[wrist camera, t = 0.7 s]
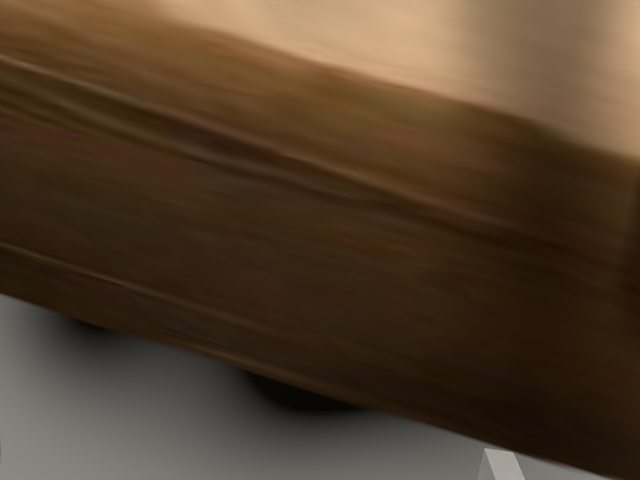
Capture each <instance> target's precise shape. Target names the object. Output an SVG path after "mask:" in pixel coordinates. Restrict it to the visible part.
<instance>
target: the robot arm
mask: <svg viewBox="0 0 640 480" xmlns="http://www.w3.org/2000/svg"><path fill="white" fill-rule="evenodd" d="M0 462H1V447H0ZM476 480H525V478H524V476H523V473H522V471H521V469H520V467H519V464H518V462H517V460H516V457H515V455H514V453H513V452H508V451H501V450H494V449H488V448H484V452H483V455H482V459H481V464H480V467H479V471H478V475H477V479H476Z"/></svg>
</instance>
